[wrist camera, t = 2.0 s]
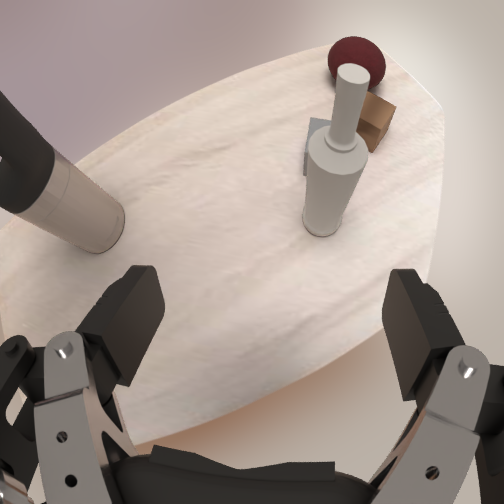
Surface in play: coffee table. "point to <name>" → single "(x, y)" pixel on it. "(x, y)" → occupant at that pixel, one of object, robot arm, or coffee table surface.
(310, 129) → the slate grey cube
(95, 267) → the coffee table surface
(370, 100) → the walnut cube
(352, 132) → the bottle
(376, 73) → the decorative ball
